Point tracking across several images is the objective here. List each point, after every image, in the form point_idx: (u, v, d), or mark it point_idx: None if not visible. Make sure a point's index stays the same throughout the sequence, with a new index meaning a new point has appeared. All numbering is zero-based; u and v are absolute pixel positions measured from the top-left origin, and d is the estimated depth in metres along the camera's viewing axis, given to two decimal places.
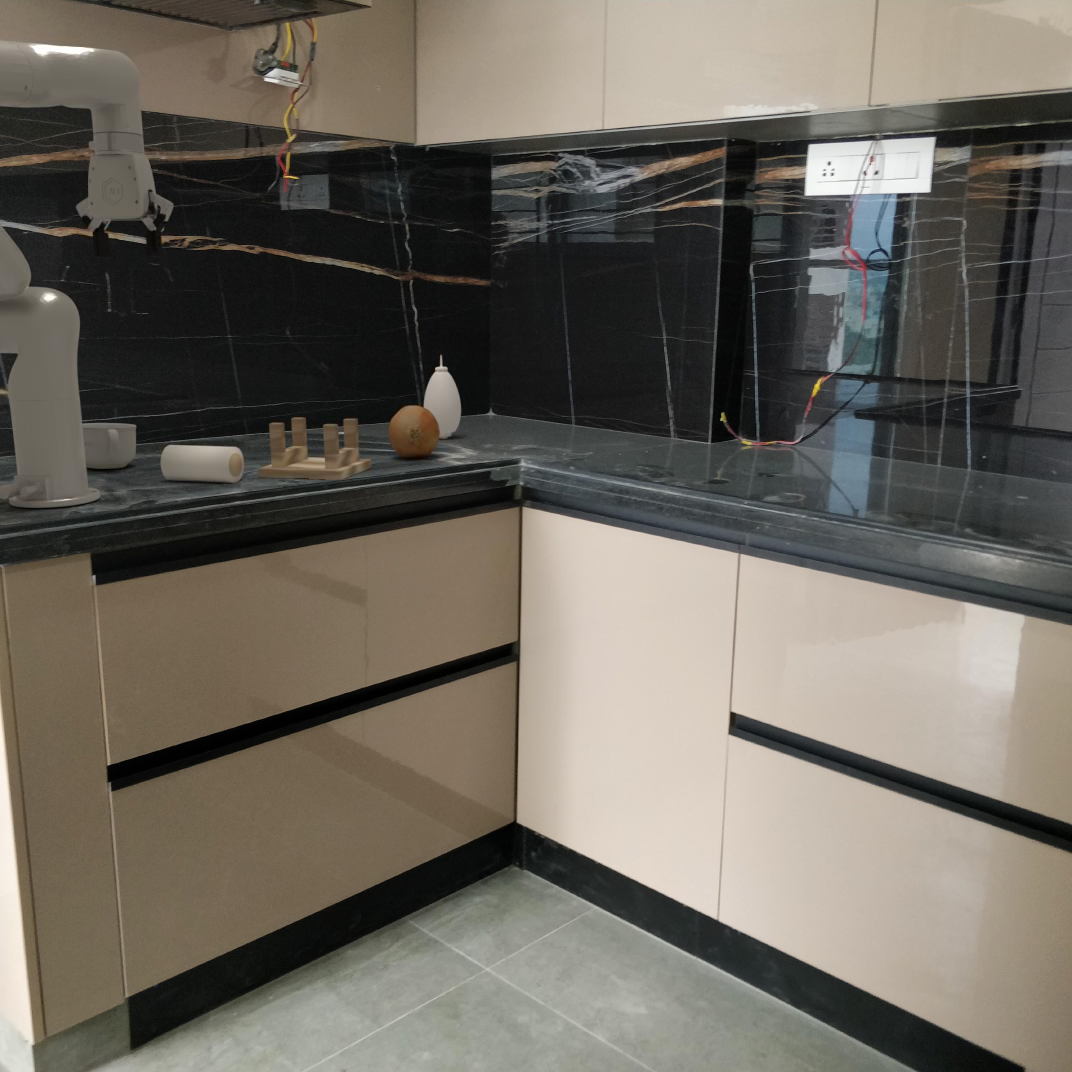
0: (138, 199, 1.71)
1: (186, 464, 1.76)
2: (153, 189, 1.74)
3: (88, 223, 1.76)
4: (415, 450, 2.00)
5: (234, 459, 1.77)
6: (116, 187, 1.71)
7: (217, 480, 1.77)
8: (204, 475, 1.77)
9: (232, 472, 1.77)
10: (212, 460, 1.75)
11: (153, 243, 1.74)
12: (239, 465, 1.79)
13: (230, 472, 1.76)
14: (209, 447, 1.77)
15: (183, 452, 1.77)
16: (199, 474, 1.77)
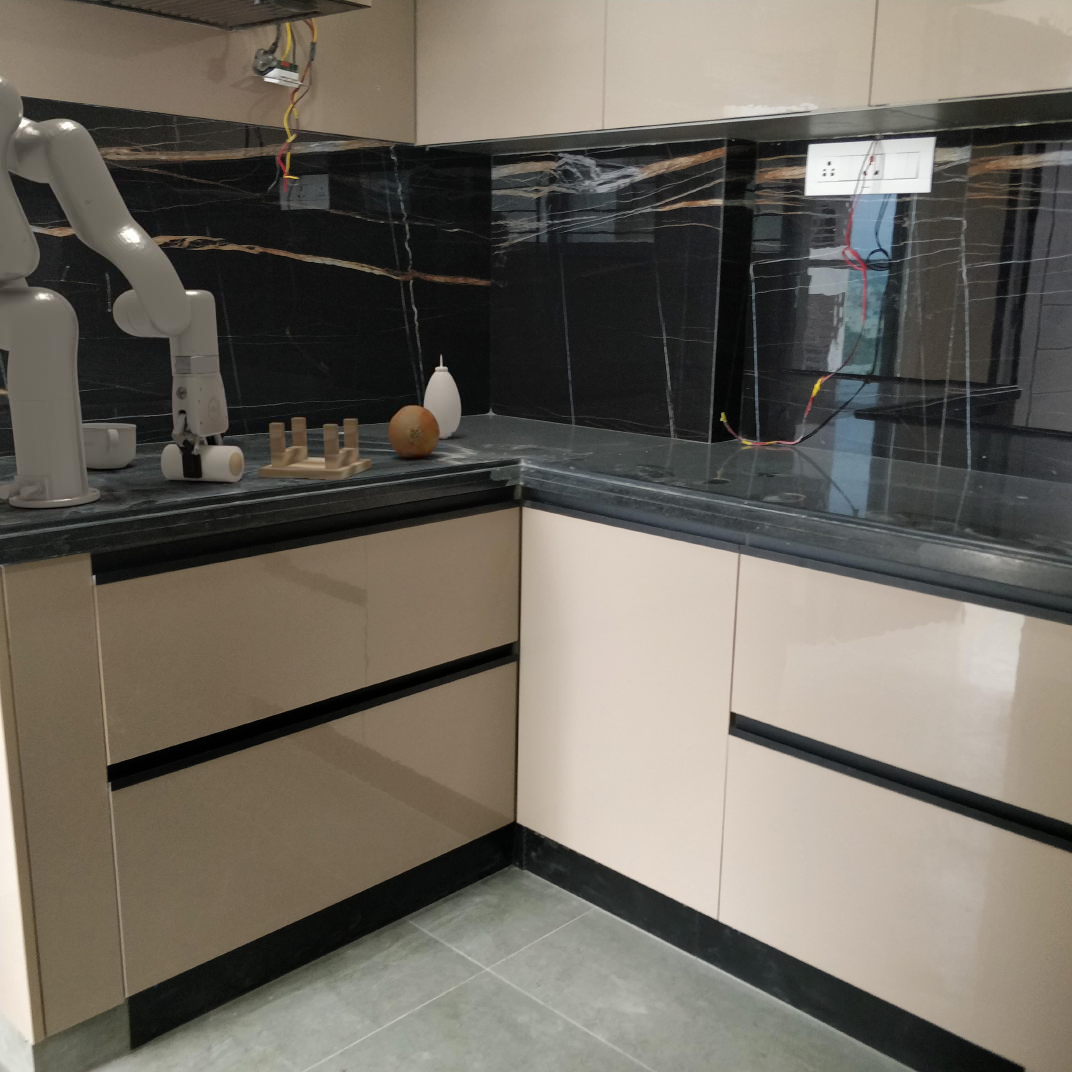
0: (227, 414, 1.81)
1: None
2: None
3: (189, 447, 1.73)
4: (415, 450, 2.00)
5: (234, 458, 1.77)
6: (215, 405, 1.77)
7: (217, 479, 1.77)
8: (204, 474, 1.77)
9: (233, 471, 1.77)
10: (212, 459, 1.75)
11: None
12: (239, 464, 1.79)
13: (230, 471, 1.76)
14: (209, 446, 1.77)
15: None
16: None
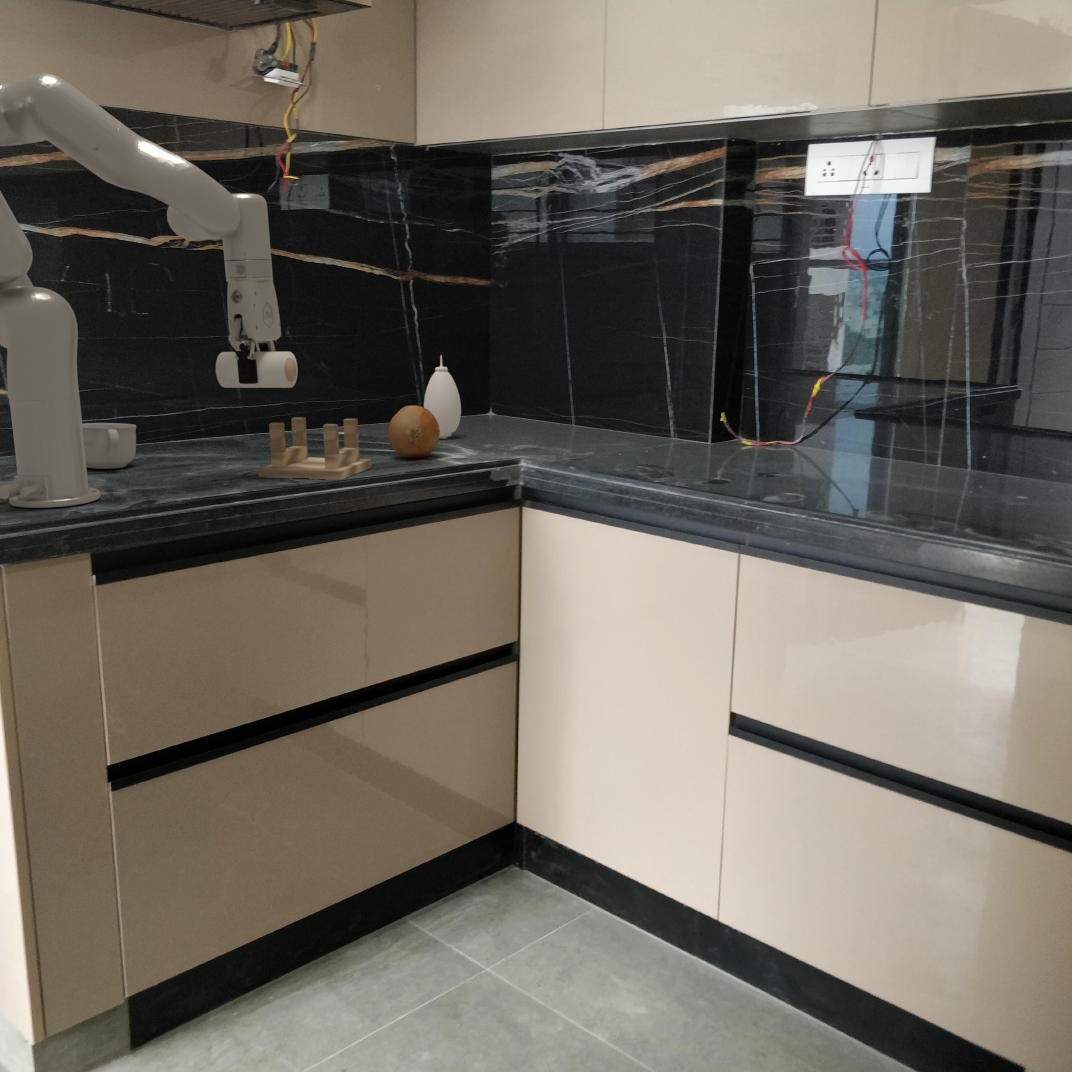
0: (279, 322, 1.82)
1: None
2: None
3: (245, 351, 1.74)
4: (415, 450, 2.00)
5: (289, 363, 1.78)
6: (269, 311, 1.78)
7: (272, 385, 1.78)
8: (260, 380, 1.78)
9: (288, 376, 1.78)
10: (268, 364, 1.76)
11: None
12: (293, 370, 1.80)
13: (286, 376, 1.77)
14: (264, 352, 1.78)
15: None
16: None
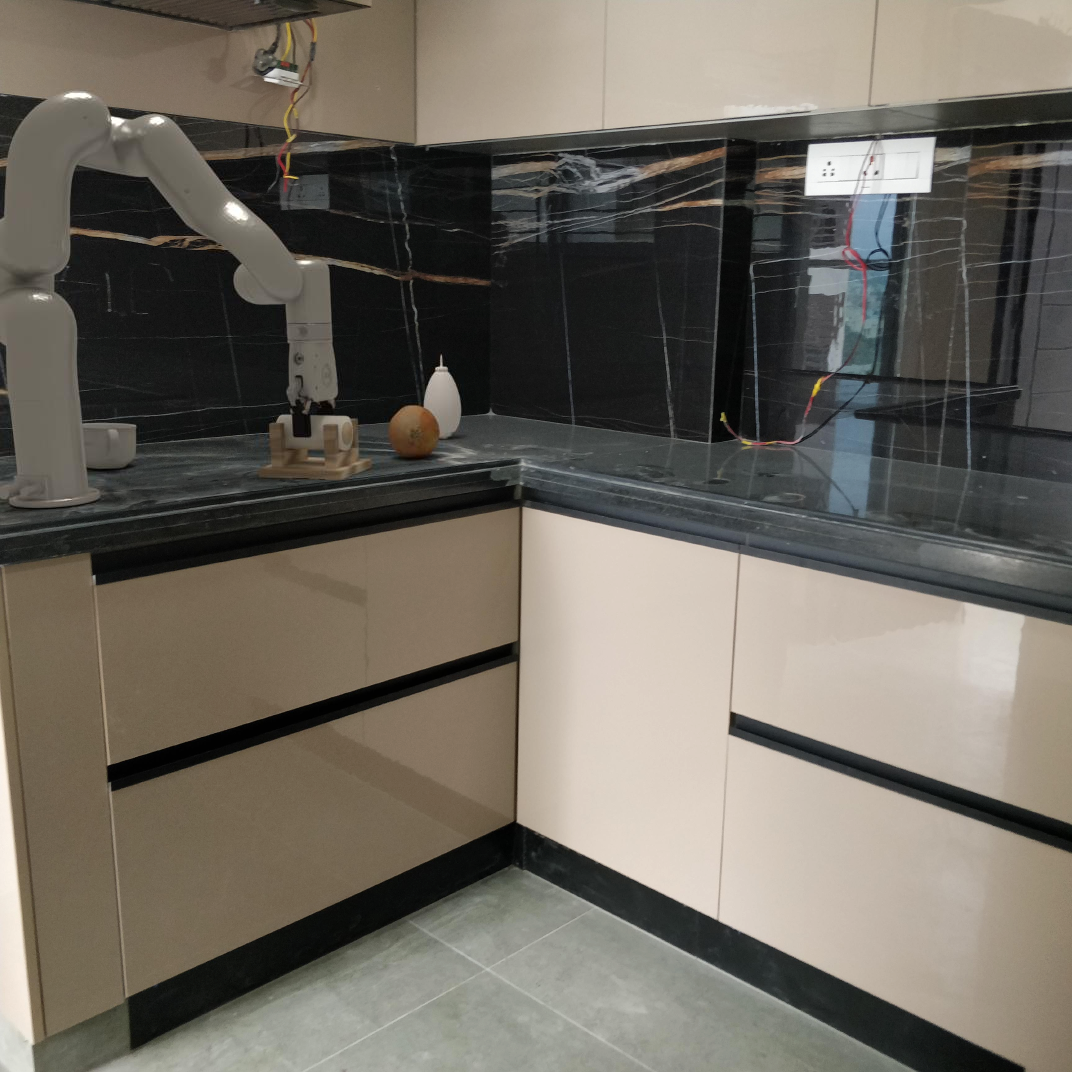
0: (336, 381, 1.88)
1: None
2: None
3: (300, 406, 1.79)
4: (415, 450, 2.00)
5: (346, 428, 1.84)
6: (328, 371, 1.84)
7: None
8: (317, 443, 1.84)
9: (344, 440, 1.84)
10: None
11: None
12: (350, 434, 1.86)
13: (342, 440, 1.83)
14: (322, 416, 1.84)
15: None
16: (312, 442, 1.84)
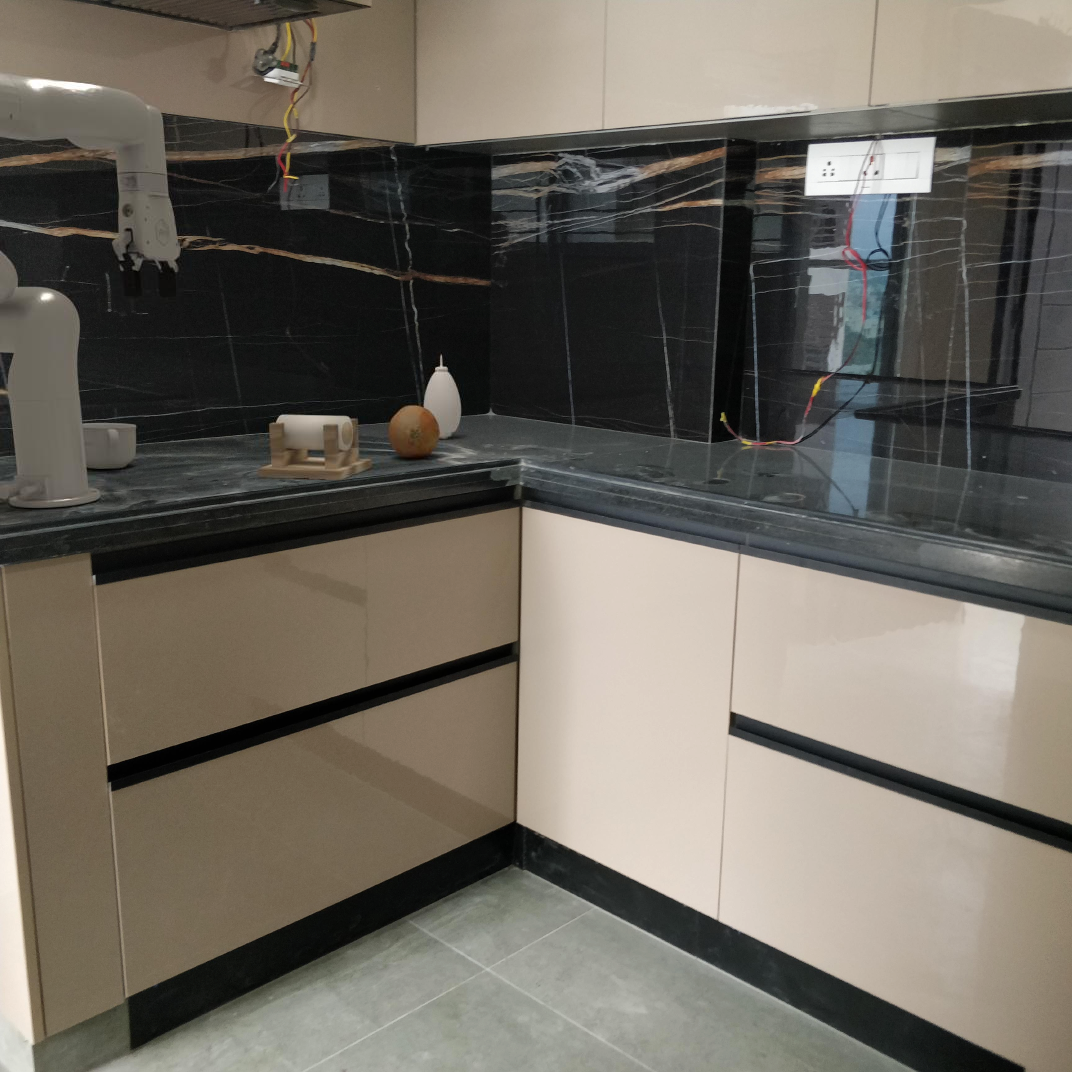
0: (177, 242, 1.76)
1: (300, 432, 1.83)
2: None
3: (130, 261, 1.67)
4: (415, 450, 2.00)
5: (346, 428, 1.84)
6: (164, 228, 1.72)
7: None
8: (317, 443, 1.84)
9: (344, 440, 1.84)
10: None
11: None
12: (350, 434, 1.86)
13: (342, 440, 1.83)
14: (322, 416, 1.84)
15: (297, 421, 1.84)
16: (312, 442, 1.84)
